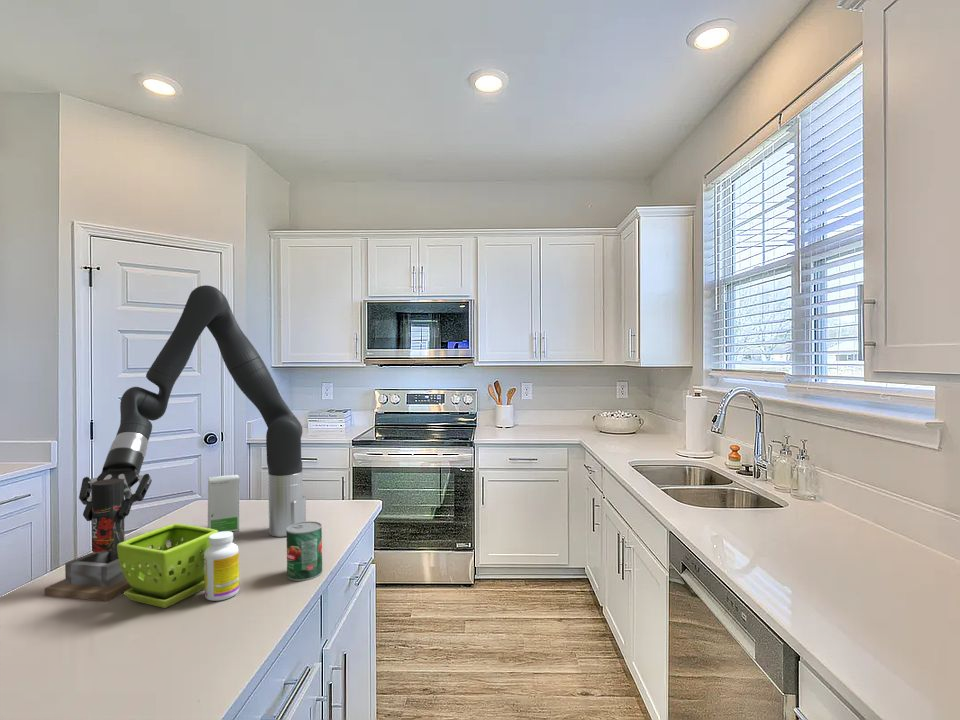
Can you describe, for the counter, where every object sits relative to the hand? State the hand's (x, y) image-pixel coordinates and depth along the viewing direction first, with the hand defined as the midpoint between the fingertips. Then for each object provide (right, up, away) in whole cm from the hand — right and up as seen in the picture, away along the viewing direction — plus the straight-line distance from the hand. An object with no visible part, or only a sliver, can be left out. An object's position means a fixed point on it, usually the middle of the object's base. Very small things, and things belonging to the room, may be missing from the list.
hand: (104, 517), depth 114 cm
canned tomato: (+43, -15, +5) cm, 46 cm away
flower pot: (+18, -15, -5) cm, 24 cm away
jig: (0, -15, +5) cm, 16 cm away
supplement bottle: (+29, -15, -5) cm, 33 cm away
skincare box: (+9, -15, +36) cm, 40 cm away
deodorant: (0, -7, +2) cm, 8 cm away
